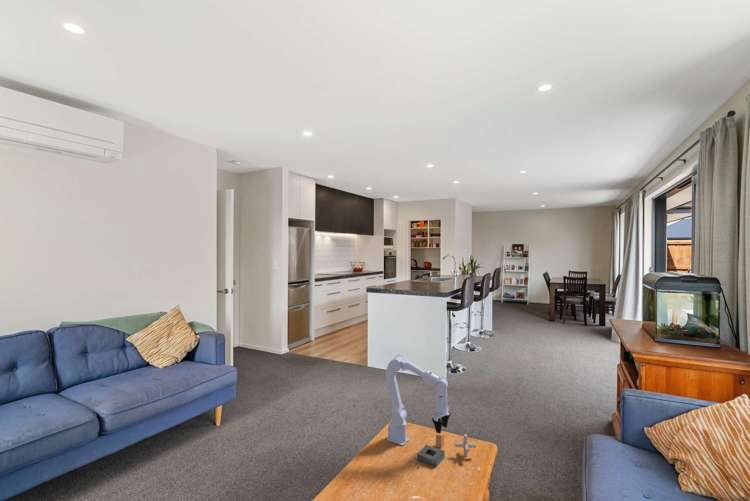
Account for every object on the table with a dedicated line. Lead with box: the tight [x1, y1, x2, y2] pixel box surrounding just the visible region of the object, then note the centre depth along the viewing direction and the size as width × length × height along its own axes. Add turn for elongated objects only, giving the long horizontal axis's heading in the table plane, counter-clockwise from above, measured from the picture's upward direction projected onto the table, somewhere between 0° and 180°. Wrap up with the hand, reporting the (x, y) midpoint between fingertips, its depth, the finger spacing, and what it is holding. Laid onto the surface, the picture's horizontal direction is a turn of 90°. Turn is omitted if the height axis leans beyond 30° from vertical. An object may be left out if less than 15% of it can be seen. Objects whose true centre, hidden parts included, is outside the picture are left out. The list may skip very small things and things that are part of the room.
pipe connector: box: [454, 433, 477, 458], centre depth 174 cm, size 10×10×10 cm
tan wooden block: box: [435, 432, 445, 449], centre depth 183 cm, size 3×3×6 cm
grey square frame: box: [416, 444, 446, 468], centre depth 171 cm, size 10×10×3 cm
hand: (441, 429), depth 181 cm, fingers open, 7 cm apart
